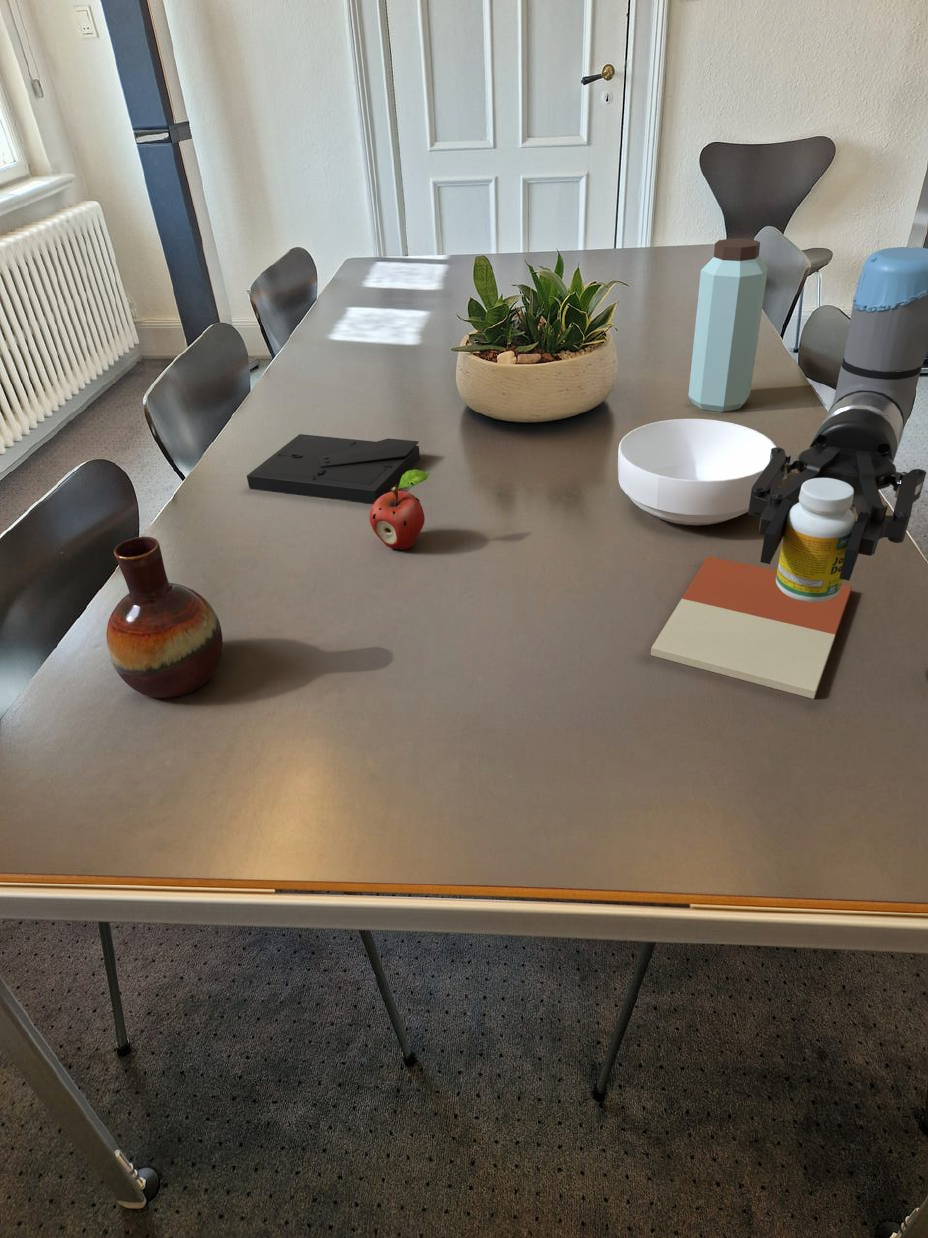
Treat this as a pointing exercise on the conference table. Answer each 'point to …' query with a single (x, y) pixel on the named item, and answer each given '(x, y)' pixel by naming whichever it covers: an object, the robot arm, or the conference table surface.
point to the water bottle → (727, 325)
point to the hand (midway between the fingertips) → (806, 556)
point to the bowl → (692, 469)
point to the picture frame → (336, 467)
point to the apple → (399, 513)
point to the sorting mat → (751, 628)
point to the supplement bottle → (816, 541)
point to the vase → (160, 627)
